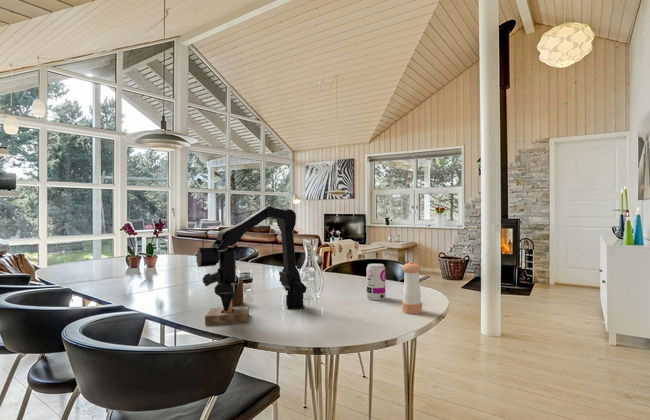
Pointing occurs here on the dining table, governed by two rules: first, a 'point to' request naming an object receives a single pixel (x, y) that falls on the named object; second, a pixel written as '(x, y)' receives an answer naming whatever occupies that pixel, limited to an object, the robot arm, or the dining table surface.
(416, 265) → the pepper shaker
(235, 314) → the hole block
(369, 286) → the supplement can
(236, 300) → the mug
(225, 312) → the peg
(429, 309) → the dining table surface
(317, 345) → the dining table surface
